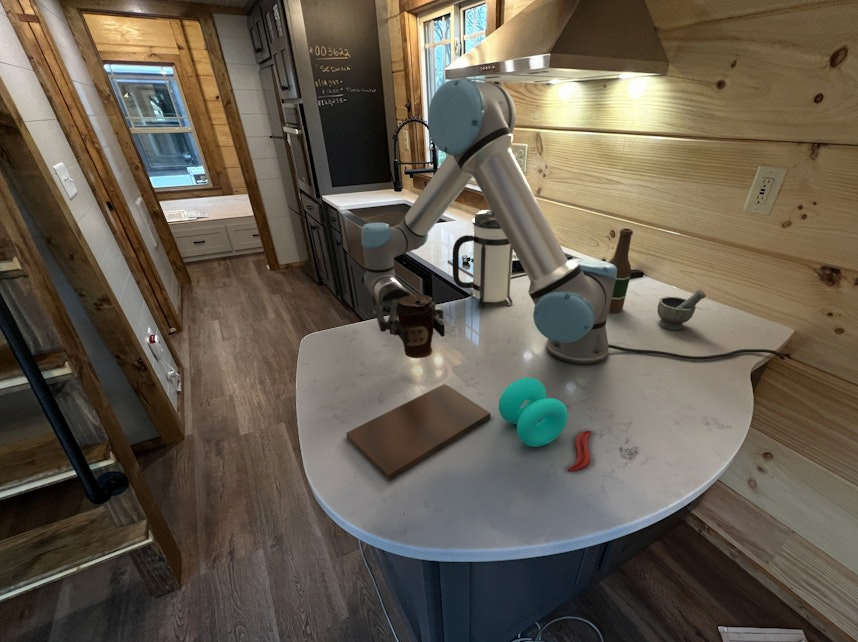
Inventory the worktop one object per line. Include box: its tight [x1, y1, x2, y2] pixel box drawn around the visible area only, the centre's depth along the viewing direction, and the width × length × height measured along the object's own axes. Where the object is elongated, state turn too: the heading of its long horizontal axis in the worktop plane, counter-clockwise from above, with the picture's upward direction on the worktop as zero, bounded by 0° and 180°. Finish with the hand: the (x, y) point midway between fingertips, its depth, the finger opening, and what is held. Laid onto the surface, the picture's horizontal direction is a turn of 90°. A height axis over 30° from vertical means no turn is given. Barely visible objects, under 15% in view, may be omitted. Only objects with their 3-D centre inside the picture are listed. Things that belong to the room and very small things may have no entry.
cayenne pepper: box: [566, 430, 592, 472], centre depth 73 cm, size 12×5×2 cm, turn 142°
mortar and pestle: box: [657, 289, 707, 331], centre depth 114 cm, size 11×9×12 cm
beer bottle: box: [607, 227, 634, 314], centre depth 121 cm, size 8×8×24 cm
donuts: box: [498, 377, 569, 448], centre depth 75 cm, size 10×10×10 cm
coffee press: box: [452, 209, 514, 309], centre depth 123 cm, size 17×16×30 cm
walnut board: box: [345, 383, 491, 481], centre depth 77 cm, size 24×14×2 cm, turn 133°
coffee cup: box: [396, 294, 436, 359], centre depth 89 cm, size 9×8×13 cm
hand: (424, 334), depth 85 cm, fingers closed on coffee cup, 8 cm apart
